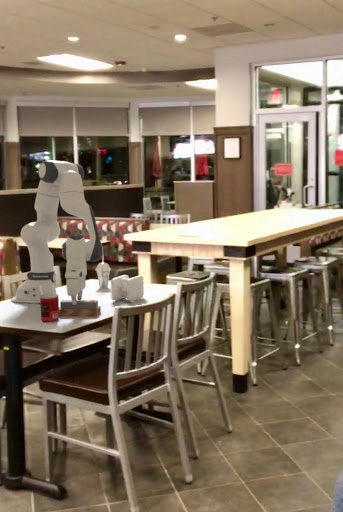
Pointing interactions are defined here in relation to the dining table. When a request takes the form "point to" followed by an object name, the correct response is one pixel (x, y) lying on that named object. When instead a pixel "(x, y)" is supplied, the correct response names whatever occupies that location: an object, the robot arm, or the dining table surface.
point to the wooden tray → (80, 312)
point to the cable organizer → (127, 288)
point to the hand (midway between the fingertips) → (77, 302)
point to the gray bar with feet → (79, 304)
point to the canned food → (49, 307)
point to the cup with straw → (103, 273)
